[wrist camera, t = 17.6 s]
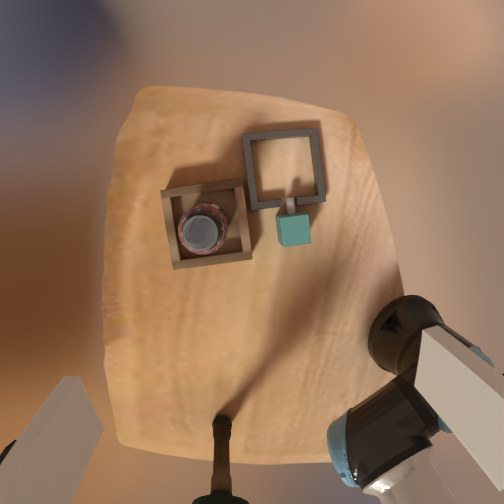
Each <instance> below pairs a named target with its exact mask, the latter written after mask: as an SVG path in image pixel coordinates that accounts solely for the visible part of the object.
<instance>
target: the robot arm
mask: <svg viewBox="0 0 504 504" xmlns="http://www.w3.org/2000/svg"><path fill="white" fill-rule="evenodd" d="M368 349H369V353H370V355H371V357H372V359H373V360H374V361H375V362H376V364H377V365H378V366H379V367H380V368H382V369H383V370H385V371H388V372H391V373H393V374H394V375H397V377H395V378H394V379H393V380H391V381H390V382H389V383H387V384H386V385H385V386H383V387H382V388H381V389H379V390H378V391H376V392H375V393H374V394H372V395H371V396H369V397H368V398H366V399H365V400H364V401H362V402H361V403H359V404H358V405H356V406H355V407H353V408H350V409H348V410H347V411H346V413H345V414H343V415H342V416H340V417H339V418H338V419H336V420H335V421H333V422H332V423H331V424H330V426H329V428H328V430H327V445H328V450H329V453H330V457H331V459H332V462H333V464H334V467H335V469H336V471H337V472H338V473H340V476H341V479H342V480H343V481H344V483H346V484H347V485H348V486H350V487H358V486H360V487H361V489H362V491H363V493H366V494H371V495H376V496H378V497H379V498H380V501H381V502H382V504H458V503H457V501H456V499H455V498H454V496H453V495H452V493H451V492H450V490H449V489H448V487H447V486H446V484H445V483H444V481H443V480H442V478H441V476H440V475H439V473H438V472H437V470H436V469H435V467H434V466H433V464H432V458H433V453H434V450H435V447H434V446H433V445H432V443H431V442H430V440H429V439H430V438H431V437H432V436H434V435H435V434H436V433H437V432H439V431H440V430H442V431H445V432H447V433H454V434H455V436H456V437H457V438H458V439H459V441H460V442H461V443H462V444H463V445H464V447H465V448H466V449H467V450H468V452H469V453H470V454H471V455H472V456H473V458H474V459H475V460H476V462H477V463H478V464H479V465H480V467H481V468H482V469H483V471H484V472H485V473H486V474H487V476H488V477H489V478H490V480H491V481H492V482H493V483H494V485H495V486H496V487H497V489H498V490H499V491H501V490H503V489H504V374H501V373H499V372H498V371H497V370H495V367H494V364H493V362H492V361H491V359H490V358H489V357H487V356H486V355H485V354H484V353H483V352H482V351H481V349H480V348H479V347H477V346H475V345H473V344H472V343H470V342H469V341H468V340H466V339H465V338H464V337H462V336H461V335H459V334H458V333H456V332H455V331H454V330H452V329H451V328H449V327H448V326H446V325H445V324H444V322H443V320H442V318H441V316H440V315H439V313H438V311H437V309H436V308H435V306H434V305H433V304H432V303H431V302H429V301H428V300H426V299H424V298H423V297H420V296H417V295H407V296H403V297H400V298H398V299H396V300H394V301H393V302H391V303H390V304H389V305H387V306H386V307H385V308H384V309H383V310H382V311H381V312H380V314H379V315H378V316H377V318H376V319H375V321H374V323H373V325H372V327H371V330H370V333H369V337H368ZM103 430H104V427H103V425H102V423H101V421H100V419H99V417H98V415H97V413H96V411H95V409H94V407H93V405H92V403H91V401H90V399H89V397H88V395H87V392H86V390H85V388H84V385H83V383H82V381H81V379H80V377H79V376H64V377H63V378H62V380H61V381H60V382H59V383H58V385H57V386H56V387H55V389H54V390H53V391H52V393H51V394H50V395H49V397H48V398H47V399H46V401H45V402H44V403H43V405H42V406H41V407H40V409H39V410H38V411H37V413H36V414H35V416H34V417H33V418H32V420H31V421H30V422H29V424H28V425H27V427H26V428H25V429H24V431H23V432H22V434H21V435H20V436H19V438H18V439H17V440H14V441H13V442H12V443H11V444H9V445H8V446H7V447H6V448H5V449H4V451H3V452H2V453H1V455H0V504H72V502H73V499H74V497H75V494H76V492H77V490H78V487H79V485H80V482H81V480H82V477H83V475H84V473H85V470H86V468H87V466H88V463H89V461H90V459H91V456H92V454H93V452H94V449H95V447H96V445H97V443H98V441H99V438H100V436H101V434H102V432H103Z"/></svg>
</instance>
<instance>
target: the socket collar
mask: <svg viewBox="0 0 504 504" xmlns="http://www.w3.org/2000/svg"><path fill="white" fill-rule="evenodd" d="M296 137H309V141H310V148H311V156H312V164H313V172H314V181H315V190H316V195H314V196H304V197H295V203H296V204H297V205H300V204H309V203H318V202H326V197H325V188H324V179H323V170H322V162H321V154H320V146H319V139H318V132H317V128H311V129H295V130H282V131H270V132H260V133H250V134H242V143H243V151H244V159H245V167H246V175H247V182H248V190H249V198H250V206H251V210H258V209H266V208H274V207H281V200H280V199H278V200H269V201H261V202H258V201H257V193H256V185H255V177H254V169H253V161H252V154H251V146H250V142H253V141H262V140H272V139H284V138H296Z"/></svg>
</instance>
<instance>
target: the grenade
mask: <svg viewBox="0 0 504 504" xmlns="http://www.w3.org/2000/svg"><path fill="white" fill-rule="evenodd" d="M212 426H213V437H214V462H213V475H212V478H211V493H210V495H206V496H202V497H199V498H197V499H195V500H194V501H193V503H192V504H249V503H248V501H246V500H244V499H242V498H239V497H236V496H232V485H231V484H232V483H231V477H230V465H229V464H230V461H229V440H230V437H231V427H232V422H231V420H230V419H229V418H228V417H226V416H217V417H216V418H215V419H214V420H213V423H212Z"/></svg>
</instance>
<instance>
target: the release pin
mask: <svg viewBox="0 0 504 504" xmlns="http://www.w3.org/2000/svg"><path fill="white" fill-rule="evenodd" d="M285 199H286V208H287V214H283V215H276V222H277V231H278V240H279V243H280V244H281V245H282V246H283V247H287V246H294V245H301V244H309V243H311V236H310V225H309V215H308V214H306V213H303V212H300V213H295V204H294V197H288V198H285Z"/></svg>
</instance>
